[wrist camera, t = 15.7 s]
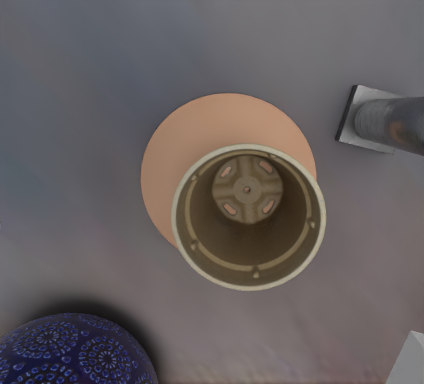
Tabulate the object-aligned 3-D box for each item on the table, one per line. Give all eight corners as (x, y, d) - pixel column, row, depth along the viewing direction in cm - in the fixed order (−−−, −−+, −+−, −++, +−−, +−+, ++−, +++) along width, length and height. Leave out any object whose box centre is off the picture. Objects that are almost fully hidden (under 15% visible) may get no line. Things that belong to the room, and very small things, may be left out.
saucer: (161, 74, 28) (158, 73, 27) (338, 118, 28) (341, 118, 27) (130, 237, 32) (127, 241, 31) (285, 278, 32) (286, 283, 31)
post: (353, 85, 27) (462, 65, 14) (407, 99, 27) (572, 92, 13) (335, 139, 28) (418, 170, 15) (387, 152, 28) (520, 196, 15)
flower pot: (180, 223, 30) (155, 268, 22) (206, 119, 28) (189, 125, 20) (283, 252, 30) (297, 308, 22) (318, 149, 28) (349, 168, 19)
